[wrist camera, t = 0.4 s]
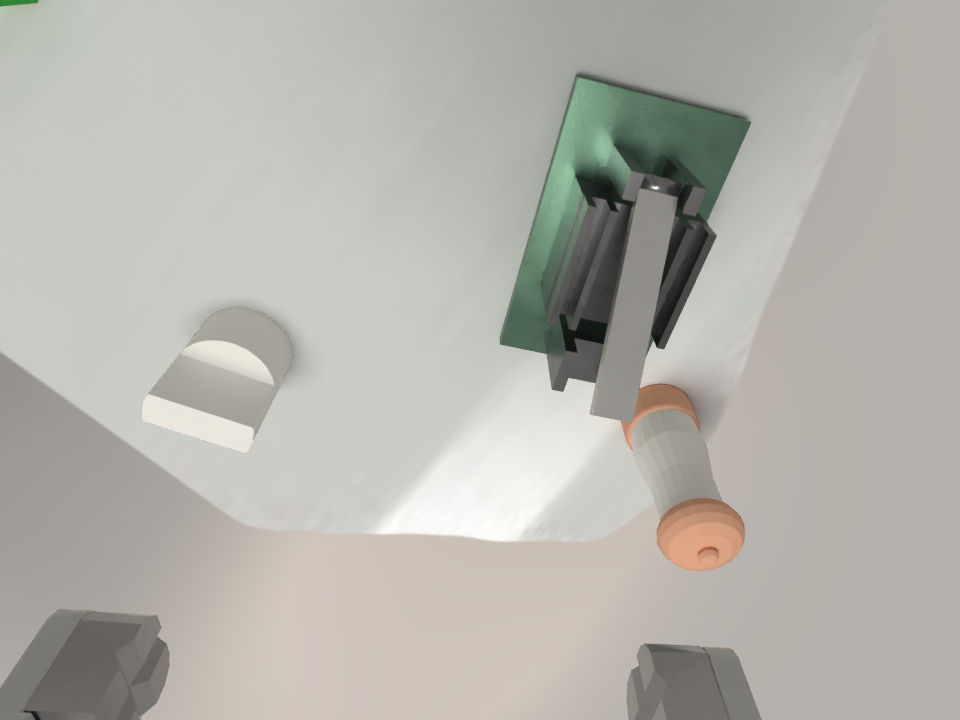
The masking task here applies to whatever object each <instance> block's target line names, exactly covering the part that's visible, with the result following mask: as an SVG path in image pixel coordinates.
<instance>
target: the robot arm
mask: <svg viewBox="0 0 960 720" xmlns="http://www.w3.org/2000/svg"><path fill="white" fill-rule="evenodd" d="M160 629H161V625H160V623H159V620H158V617H157V615H144V614H127V613H113V612H97V611H89V610H70V609H59V610H57V611H56V612H55V613H54V614H53V615H51V616H50V617H49V618H48V619H47V620H46V622H45V623H44V625H43V626H42V627H41V629H40V630H39V632H38V634H37V635H36V636H35V638H34V639H33V641H32V642H31V644H30V645H29V646H28V648H27V649H26V651H25V652H24V654H23V655H22V657H21V658H20V660H19V661H18V663H17V664H16V665H15V667H14V668H13V670H12V671H11V673H10V674H9V676H8V677H7V679H6V680H5V682H4V683H3V684H2V686H1V688H0V720H141V716H142V715H143V714H144V713H145V712H146V711H147V710H149V709H150V708H151V707H152V706H154V705H155V704H156V703H157V701H158V699H159V697H160V694H161V692H162V690H163V687H164V685H165V681H166V677H167V673H168V669H169V650H168V647H167V644H166V643H165V642H164V641H162V640H161V639H160V638H158V637H157V635H158V633H159V631H160ZM637 657H638V662H639V666H638V667H636V668H635V669H633V670H632V671H631V673H630V677H629V680H628V686H627V707H628V715H629V720H761V717H760V714H759V712H758V709H757V706H756V704H755V701H754V698H753V695H752V693H751V690H750V688H749V685H748V682H747V679H746V677H745V674H744V672H743V669H742V666H741V663H740V661H739V658H738V656H737V655H736V653H735V652H734V651H733V650H732V649H729V648H719V647H700V646H691V645H666V644H664V645H663V644H643V645H642V646H641V647H640V649H639V651H638V654H637Z"/></svg>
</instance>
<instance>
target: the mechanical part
mask: <svg viewBox="0 0 960 720" xmlns="http://www.w3.org/2000/svg"><path fill="white" fill-rule="evenodd" d="M31 3H38V0H0V6H9V5H20V4H31Z"/></svg>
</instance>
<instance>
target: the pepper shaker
mask: <svg viewBox="0 0 960 720" xmlns="http://www.w3.org/2000/svg"><path fill="white" fill-rule="evenodd" d="M621 423H622V427H623V430H624V434H625V437H626V441H627V443H628V445H629V447H630V449H631V450H632V451H633V452H634V456H635V460H636V464H637V467H638V468H639V470H640V472H641V474H642V476H643V478H644V480H645V481H646V483H647V485H648V487H649V489H650V491H651V492H652V495H653V498H654V501H655V505H656V508H657V511H658V514H659V517H660V520H661V521H660V523H659V526H658V528H657V544H658V546H659V548H660V550H661V551H662V553H663V554H664V556H665V557H666V558H667V559H668V560H670V561H671V562H672V563H674V564H675V565H677V566H678V567H680V568H683V569H686V570H690V571H707V570H712V569H715V568H719V567H722V566H723V565H725V564H727V563H729V562H731V561H732V560H733V559H734V558H735V557H736V556H737V555H738V553H739V551H740V550H741V548H742V545H743V543H744V537H745V528H744V523H743V521H742V519H741V516H740V515H739V514H738V513H737V512H736V511H735V510H733V509H732V508H731V507H730V506H729V505H727V504H726V503H724V502H723V501H722V498H721V496H720V494H719V491H718V489H717V486H716V484H715V482H714V479H713V475H712V470H711V465H710V460H709V455H708V450H707V447H706V445H705V443H704V440H703V438H702V436H701V434H700V432H699V421H698V419H697V417H696V415H695V412H694V410H693V408H692V406H691V404H690V401H689V399H688V397H687V395H686V394H685V393H683V392H682V391H681V390H680V389H678V388H676V387H673V386H671V385H664V384H657V385H650V386H646V387H644V388H641V389H639V393H638V398H637V402H636V407H635V412H634V417H633V422H632V423H631V422H626V421H621Z"/></svg>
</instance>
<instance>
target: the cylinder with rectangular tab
mask: <svg viewBox="0 0 960 720" xmlns="http://www.w3.org/2000/svg"><path fill="white" fill-rule="evenodd" d="M292 355H293V353H292V348H291V343H290V341H289V339H288V337H287V335H286V333H285V332H284V331H283V330H282V328H281V327H280V326H279V325H278V324H277V323H276V322H274V321H273V320H272V319H270V318H269V317H268V316H265V315H263V314H261V313H259V312H257V311H254V310H250V309H246V308H229V309H224V310H220V311H218V312H216V313H215V314H213V315H211V316H210V317H209V318H208V319H207V320H206V322H205V323H204V324H203V325H202V326H201V328H200V329H199V330H198V331H197V333H196V334H195V335H194V336H193V338H192V339H191V340H190V342H189V343H188V344H187V345H186V347H185V348H184V349H183V350H182V352H181V353H180V354H179V355H178V357H177V358H176V359H175V360H174V362H173V363H172V364H171V366H170V367H169V368H168V369H167V371H166V372H165V373H164V374H163V376H162V377H161V378H160V379H159V381H158V382H157V383H156V384H155V386H154V387H153V388H152V390H151V391H150V392H149V393H148V395H147V396H146V398H145V400H144V403H143V406H142V418H143V421H145V422H148V423H151V424H154V425H158V426H161V427H164V428H167V429H170V430H174V431H177V432H180V433H183V434H186V435H190V436H193V437H196V438H199V439H202V440H206V441H209V442H212V443H215V444H218V445H222V446H225V447H228V448H231V449H234V450H237V451H241V452H244V453H246V452H247V451H248V449H249V448H250V446H251V444H252V442H253V440H254V438H255V436H256V434H257V432H258V430H259V428H260V426H261V424H262V422H263V420H264V418H265V416H266V414H267V412H268V410H269V408H270V405H271V403H272V401H273V399H274V397H275V395H276V393H277V391H278V389H279V387H280V385H281V383H282V381H283V379H284V377H285V375H286V373H287V371H288V369H289V367H290V365H291V362H292Z"/></svg>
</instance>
